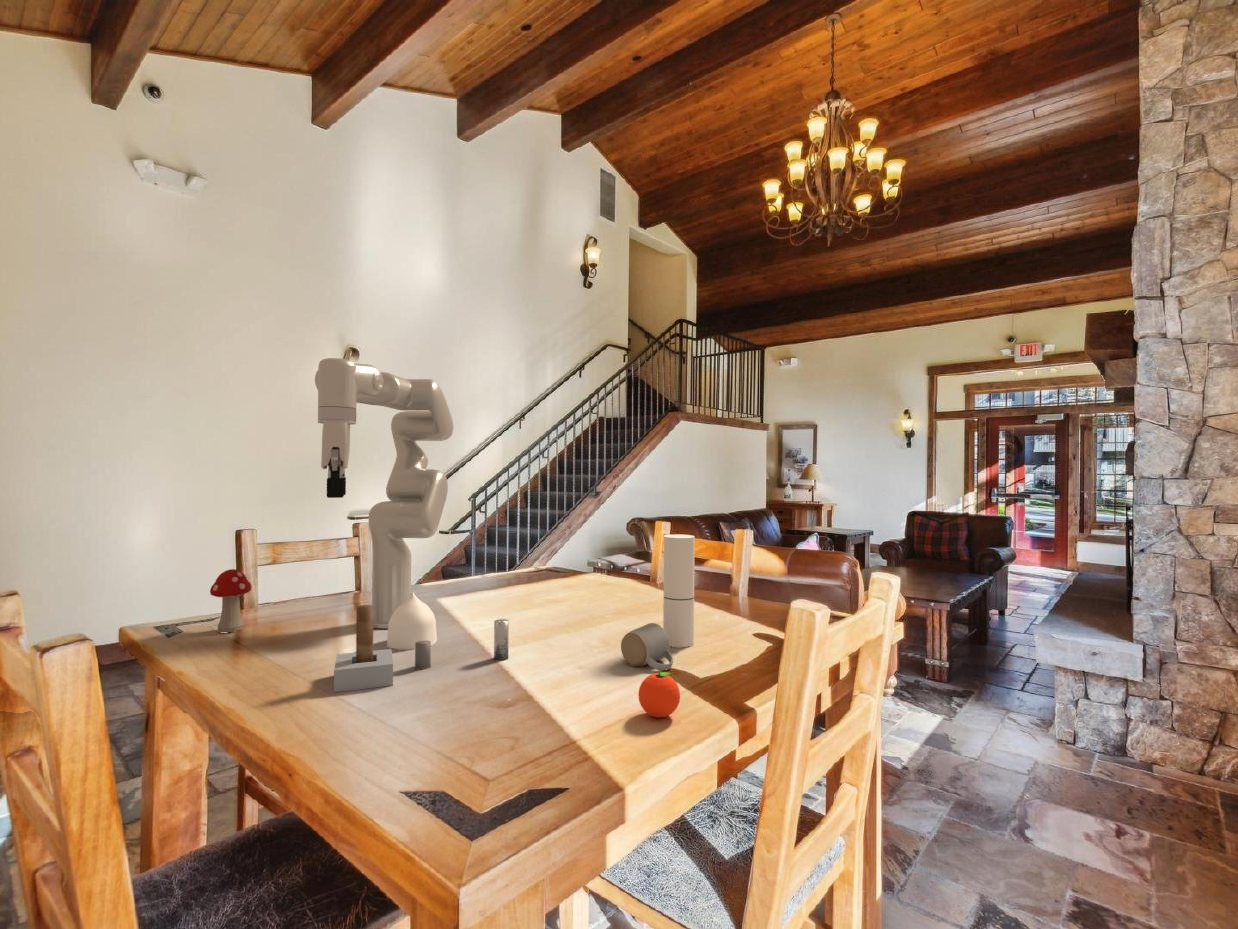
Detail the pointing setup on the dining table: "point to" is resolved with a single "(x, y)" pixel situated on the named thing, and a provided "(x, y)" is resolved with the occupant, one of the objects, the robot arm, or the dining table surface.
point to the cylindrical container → (679, 589)
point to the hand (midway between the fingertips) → (336, 496)
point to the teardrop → (411, 624)
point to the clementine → (659, 694)
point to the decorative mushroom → (230, 598)
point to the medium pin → (501, 639)
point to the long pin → (364, 634)
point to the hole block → (363, 671)
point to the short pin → (423, 654)
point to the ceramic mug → (647, 647)
